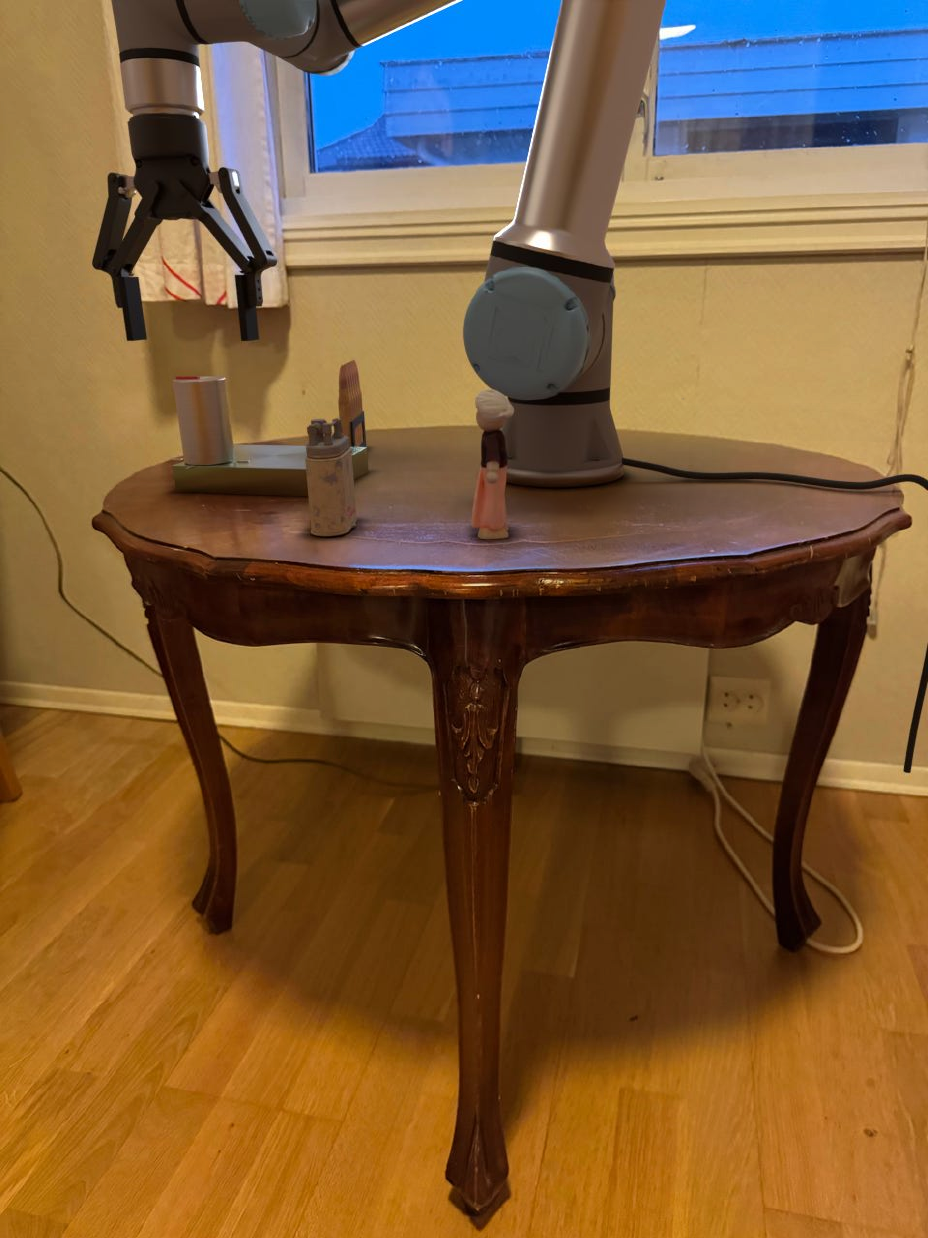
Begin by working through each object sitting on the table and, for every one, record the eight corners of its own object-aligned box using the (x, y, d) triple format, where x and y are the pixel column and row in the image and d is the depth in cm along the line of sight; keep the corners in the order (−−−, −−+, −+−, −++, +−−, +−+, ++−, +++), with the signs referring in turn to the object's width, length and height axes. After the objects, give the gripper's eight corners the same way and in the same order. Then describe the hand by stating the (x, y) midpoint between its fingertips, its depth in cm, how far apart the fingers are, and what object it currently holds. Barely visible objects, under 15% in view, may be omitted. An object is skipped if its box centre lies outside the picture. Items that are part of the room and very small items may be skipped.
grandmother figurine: (467, 524, 82) (464, 385, 78) (508, 522, 82) (507, 383, 78) (475, 547, 75) (472, 395, 71) (520, 545, 75) (520, 393, 71)
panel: (368, 471, 107) (367, 445, 106) (318, 501, 93) (315, 471, 92) (221, 467, 112) (218, 442, 111) (151, 495, 97) (146, 466, 96)
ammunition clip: (354, 461, 113) (348, 365, 109) (340, 461, 114) (333, 365, 109) (366, 447, 123) (361, 358, 119) (353, 447, 124) (347, 359, 119)
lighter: (324, 518, 86) (316, 414, 82) (363, 518, 85) (356, 413, 82) (307, 538, 79) (297, 425, 75) (348, 538, 79) (340, 425, 75)
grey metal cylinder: (243, 456, 101) (234, 373, 98) (219, 465, 96) (209, 378, 93) (200, 455, 103) (189, 373, 99) (174, 464, 98) (162, 378, 94)
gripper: (297, 116, 88) (313, 338, 96) (81, 129, 94) (112, 338, 101) (264, 102, 81) (284, 342, 89) (33, 117, 87) (70, 342, 94)
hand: (192, 340), depth 95 cm, fingers open, 13 cm apart
